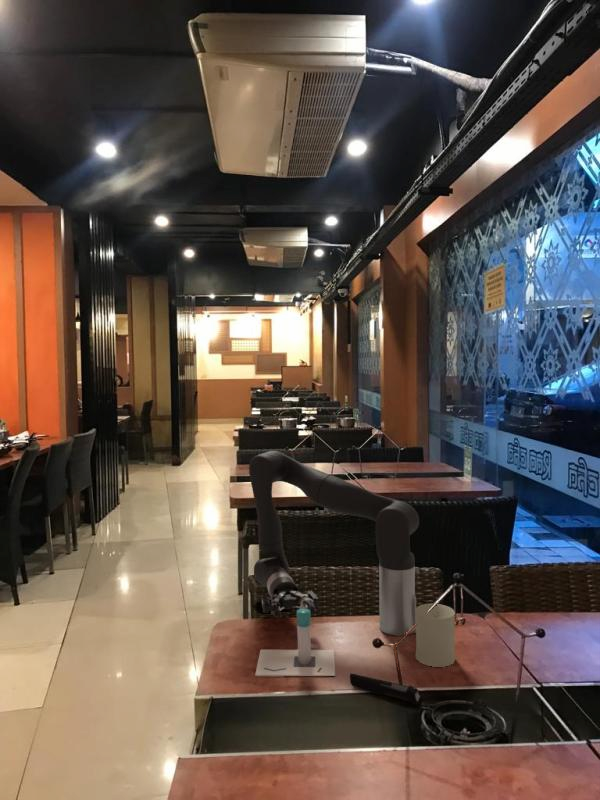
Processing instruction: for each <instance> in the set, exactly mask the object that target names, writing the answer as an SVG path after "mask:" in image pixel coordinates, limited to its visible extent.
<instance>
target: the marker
mask: <svg viewBox="0 0 600 800" xmlns="http://www.w3.org/2000/svg"><path fill="white" fill-rule="evenodd" d="M311 622H312V620H311V615H310V610H308V609H305V608H304V609H299V608H298V609H297V611H296V625H297V626H296V627H297V628H296V629H297V650H298V662H299V663H300V664H303V665H306V664H309V663H311V650H312V648H311V645H312V643H311V624H312V623H311Z"/></svg>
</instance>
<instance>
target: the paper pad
mask: <svg viewBox="0 0 600 800" xmlns="http://www.w3.org/2000/svg"><path fill="white" fill-rule="evenodd" d="M259 650H260V651H259V655H258V656H259V657H258V660H257V665H256V669H255V670H256V671H255V675H254V676H255V677H284V676H335V677H336V671H335V670H336V667H335V650H334V649H311V663H309V664H306V665H303V664H300V663H299V662H298V649H259Z"/></svg>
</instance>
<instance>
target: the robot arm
mask: <svg viewBox="0 0 600 800" xmlns="http://www.w3.org/2000/svg"><path fill="white" fill-rule="evenodd" d="M248 472H249V479H250V484H251V488H252V489H251V490H252V495H253V499H254V504H255V509H256V517H257V525H258V526H257V527H258V530H257V531H258V547H259V550H260V551H261V552H263V553H266V554H272V555H276V556H275V557H269V558H268V557H267V558H260V559H258V560H257V561H256V562H255V564H254V566H253V574H254V577H255V579H256V581H257V582H258V583H259V585H261V586H263V587H264V588H267V591H268V592H267V593H268V595H269V596H270V597H269V596H267V595H266V594H264V595H261V606H262V609H263V610H262V611H263V613H264V614H268V613H269V612H271V614H272V615H273V617H275V618H277V619H280V618H281V611H282V610H284V609H285V610H287V609H291V608H296V609H298V610H299V609H308V610H310V616H313V615H314V614H315V613H316V609H317V608H319V605H318V604H319V597H318V596H317V595H316V594H315V593H314V592H313V591H312V590H308V591H307V593H303V592H300V590H299V587H298V586H297V584H296V583H295V581H294V580H293V578H292V577H291V576H290V566H289V563H288V560H287V557H286V555H285V551H284V547H283V546H284V545H283V527H282V521H281V518H280V516H279V512H278V510H277V508H276V507H275V504H274V501H273V492H272V491H273V484H274V483H276V482H279V481H280V482H284V483H286V484H290V485H292V486H293V487H295V488H296V487H297V488H298V489H299V490H300V491H302V493H304V495H305V496H306V497H307V498H308V500H310V501H311V502H312V503H313V504H315V505H318V506H319V507H322V508H324V509H327V510H329V511H332V512H334V513H338V514H343V515H349V516H354V517H361V518H366V519H369V520H372V521H373V522H375V545H376V549H375V550H376V555H377V557H378V559H379V560H378V561H379V562H378V563H379V564H378V565H379V567H378V568H379V570H378V572H379V573H378V574H379V575H378V576H379V577H378V578H379V579H378V581H379V582H378V583H379V586H378V587H379V588H378V589H379V593H378V595H379V598H378V599H379V603H378V604H379V609H378V611H379V620H378V621H379V630H381V632H382V633H385V634H387V635H391V636H397V637H398V636H399V637H402V636H405V635H404V634H406V632H408V631H409V629H410V628H412V626H414V625H415V624H416V608H417V596H416V594H415V593H416V592H415V589H416V588H415V587H416V583H415V581H416V579H415V578H416V577H415V575H416V574H415V573H416V571H415V570H416V569H415V567H416V566H415V563H416V562H415V561H416V560H415V559H416V558H415V555H414V553H413V552H412V551H411V545H410V543H411V541H410V536H411V535H412V534H413V533H415V532H416V531H417V529H418V528H419V524H420V517H419V513H418V512H417V510H416V509H415V508H414V507H413V506H412V505H410V504H409V503H407V502H404V501H401V500H397V499H394V498H391V497H386V496H383V495H380V494H377V493H375V492H373V491H369V490H368V489H365V488H363V487H361V486H358V485H356V484H354V483H351V482H349V481H346V480H344V479H342V478H340V477H337V476H335V475H332V474H330V473H327V472H324V471H321V470H319V469H316V468H314V467H313V466H309V465H305V464H303V463H301V462H299V460H296V459H294V458H292V457H290V456H288V455H287V454H284V453H283V452H281V451H278V450H268V451H266V452H263V453H260V454H257V455H254V456H253V457H252V458H251V460H250V461H249V465H248ZM411 634H416V628H415V629H414V630H413V631H412V632H411V633H410V634H409V635H411Z"/></svg>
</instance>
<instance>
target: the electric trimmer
mask: <svg viewBox="0 0 600 800" xmlns="http://www.w3.org/2000/svg"><path fill="white" fill-rule="evenodd" d="M349 679H350V684H351V686H353V687H355V688H358V689H360V690H362V691H365V692H368V693H370V694H373V695H376V696H379V695H385V696H388V697H391V698H394V699H399V700H403V701H405V702H410V704H411V705H412V706H415V705H416V706H418V705H419V703H420V702H421V700H422V695H421V692H420V690H419V689H418V688H417V687H413V685H404V684H400V683H395V682H391V681H386V680H382V679H380V678H379V679H378V678H374V677H370V676H365V675H361V674H357V673H350V674H349Z"/></svg>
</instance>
